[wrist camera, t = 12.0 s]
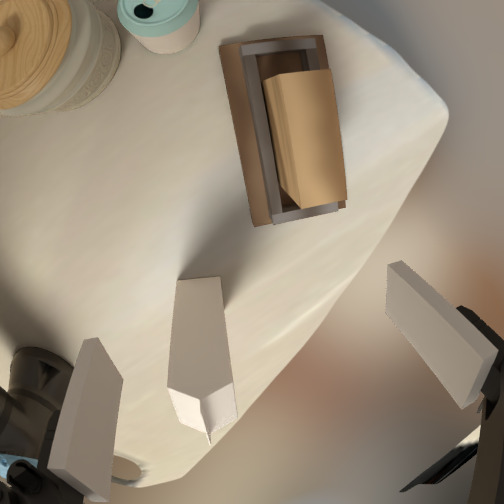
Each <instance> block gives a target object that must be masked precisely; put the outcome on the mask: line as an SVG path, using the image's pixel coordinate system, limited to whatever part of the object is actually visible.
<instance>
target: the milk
mask: <svg viewBox="0 0 504 504" xmlns="http://www.w3.org/2000/svg"><path fill="white" fill-rule="evenodd" d="M167 388H168V391H169V394H170V397H171V400H172V402H173V405H174V408H175V411H176V413H177V416H178V419H179V421H180V423H182V424H184V425H187V426H189V427H192V428H194V429H197V430H199V431H202V432H204V433H206V435H207V438H208V441H209V445H211V437H210V434H212V433H213V432H215V431H217V430H218V429H220V428H222V427H224V426H225V425H227V424H229V423H230V422H232V421H234V420H235V419H237V418H238V414H237V407H236V399H235V392H234V384H233V376H232V369H231V361H230V354H229V346H228V338H227V330H226V322H225V314H224V305H223V297H222V288H221V279H220V276H218V277H208V278H198V279H188V280H178V281H177V283H176V292H175V301H174V310H173V320H172V331H171V342H170V354H169V367H168V382H167Z"/></svg>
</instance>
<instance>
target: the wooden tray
mask: <svg viewBox="0 0 504 504" xmlns="http://www.w3.org/2000/svg"><path fill="white" fill-rule="evenodd" d="M218 49H219V54H220V59H221V64H222V69H223V74H224V79H225V84H226V89H227V94H228V99H229V104H230V109H231V114H232V119H233V124H234V129H235V134H236V139H237V144H238V150H239V155H240V160H241V165H242V170H243V175H244V180H245V185H246V191H247V196H248V201H249V206H250V211H251V216H252V222H253V225H254V227H257V226H262V225H266V224H271V223H273V225H275V224H280V223H285V222H289V221H294V220H299V219H303V218H308V217H313V216H317V215H322V214H327V213H332V212H336V211H338V209H342V208H346V204H345V200H342V201H337V202H333V203H328V204H323V205H318V206H314V207H309V208H304V209H301V208H300V207H299V206H298V205H297V204H296V202H295V201H294V200H293V199H292V198H291V197H290V196H289V195H288V194H287V192H286V191H285V190H284V189H283V188H282V187H281V186H280V185H279V184H278V180H277V174H276V168H275V162H274V156H273V150H272V144H271V138H270V132H269V127H268V121H267V115H266V110H265V104H264V99H263V93H262V88H261V83H260V82H262V81H264V80H266V79H269V78H271V77H274V76H276V75H279V74H285V73H293V72H303V71H313V70H325V69H329V65H328V60H327V54H326V49H325V44H324V39H323V35H311V36H294V37H282V38H272V39H263V40H255V41H247V42H240V43H234V44H228V45H222V46H219V48H218Z"/></svg>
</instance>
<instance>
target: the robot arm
mask: <svg viewBox="0 0 504 504" xmlns="http://www.w3.org/2000/svg"><path fill="white" fill-rule="evenodd" d="M385 313H386V314H387V316H388V317H389V318H390V319H391V320H392V321H393V323H394V324H395V325H396V326H397V328H399V330H400V331H401V332H402V334H403V335H404V336H405V337H406V339H407V340H408V341H409V342H410V343H411V345H412V346H413V347H414V348H415V350H416V351H417V352H418V353H419V355H420V356H421V357H422V358H423V360H424V361H425V362H426V363H427V365H428V366H429V367H430V369H431V370H432V371H433V372H434V374H435V375H436V376H437V378H438V379H439V380H440V382H441V383H442V384H443V385H444V387H445V388H446V389H447V391H448V392H449V393H450V395H451V396H452V397H453V399H454V400H455V401H456V403H457V404H458V405H459V407H460V408H461V409H463V408H465V407H466V406H468V405H470V404H471V403H473V402H474V401H476V399H477V397H478V395H479V393H480V391H481V392H482V393H483V394H484V395H485V397H484V398H483V400H482V402H481V404H480V406H479V408H478V411H477V413H480V411H481V409H482V419H481V429H480V437H479V445H478V452H477V458H476V464H475V470H474V475H473V480H472V485H471V490H470V494H469V498H468V502H467V504H504V340H503V339H502V338H501V337H500V336H498V334H496V333H495V332H494V331H493V330H492V329H491V328H490V327H489V326H487V325H486V323H485V322H484V321H483V320H480V317H478V316H477V315H476V314H475V313H474V312H473V311H472V310H470V309H468V308H466V307H463V306H459V307H457V308H455V307H454V306H452V305H451V304H450V303H449V302H448V301H447V300H446V299H445V298H444V297H443V296H442V295H440V294H439V293H438V292H437V291H436V290H435V289H434V288H433V287H432V286H430V285H429V284H428V283H427V282H426V281H425V280H424V279H422V278H421V277H420V276H419V275H418V274H417V273H416V272H414V271H413V270H412V269H411V268H410V267H409V266H407V265H406V264H405V263H404V262H403V261H399V262H395V263H392V264H389V265H388V271H387V293H386V309H385ZM122 385H123V378H122V376H121V375H120V373H119V372H118V370H117V368H116V367H115V365H114V364H113V362H112V360H111V359H110V357H109V355H108V354H107V352H106V350H105V349H104V347H103V345H102V343H101V342H100V340H99V338H98V337H97V338H92V339H86V340H84V341H83V344H82V347H81V350H80V352H79V355H78V358H77V361H76V364H75V367H74V369H73V368H72V367H71V366H70V365H69V364H68V363H67V362H65V361H64V360H63V359H61V358H60V357H58V356H56V355H55V354H53V353H51V352H49V351H46V350H43V349H40V348H34V347H26V348H22V349H20V350H19V351H18V352H17V353H16V354H15V356H14V358H13V360H12V362H11V366H10V380H9V389H8V392H6V391H5V390H4V389H3V388H2V387H1V386H0V476H2V477H4V478H6V479H7V483H8V484H10V485H11V486H12V487H8V486H7V485H6V484H4V483H3V482H1V481H0V504H84V503H83V498H84V496H85V497H86V498H88V499H89V500H91V501H92V502H109V501H110V485H111V472H112V461H113V452H114V443H115V434H116V426H117V418H118V411H119V404H120V397H121V391H122Z"/></svg>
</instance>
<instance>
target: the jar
mask: <svg viewBox="0 0 504 504" xmlns="http://www.w3.org/2000/svg"><path fill="white" fill-rule="evenodd" d="M120 55H121V43H120V37H119V34H118V31H117V28H116V26H115V25H114V23H113V22H112V21H111V19H110V18H109V17H107V16H106V15H105V14H104V13H102V12H101V11H99V10H97V9H96V8H95V7H94V5H93V4H92V3H91V2H90V1H89V0H0V114H1V115H4V116H8V117H22V116H27V115H36V114H43V113H46V112H49V111H55V112H60V111H68V110H72V109H76V108H78V107H81V106H83V105H85V104H86V103H88V102H90V101H91V100H93V99H94V98H95V97H97V96H98V95H99V94H100V93H101V92H102V91H103V90H104V89H105V88H106V87H107V85H108V84H109V83H110V81H111V80H112V78H113V76H114V74H115V72H116V70H117V67H118V64H119V61H120Z"/></svg>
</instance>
